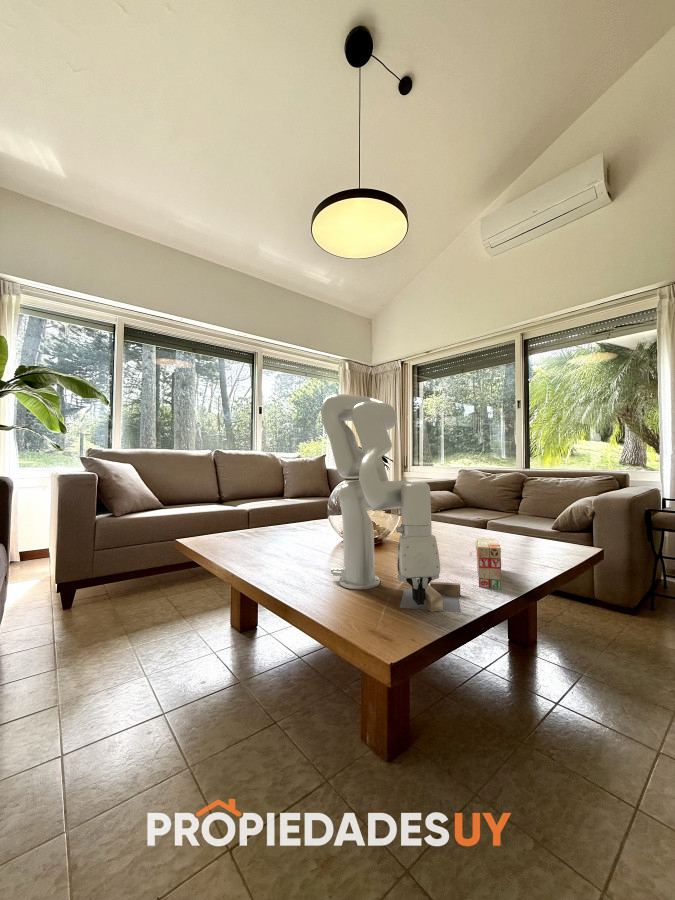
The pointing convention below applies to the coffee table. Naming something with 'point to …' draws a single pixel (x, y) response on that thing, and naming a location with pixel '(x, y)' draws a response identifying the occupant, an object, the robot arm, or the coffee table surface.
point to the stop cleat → (446, 588)
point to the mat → (407, 602)
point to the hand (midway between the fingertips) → (419, 602)
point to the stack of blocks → (489, 563)
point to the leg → (433, 599)
